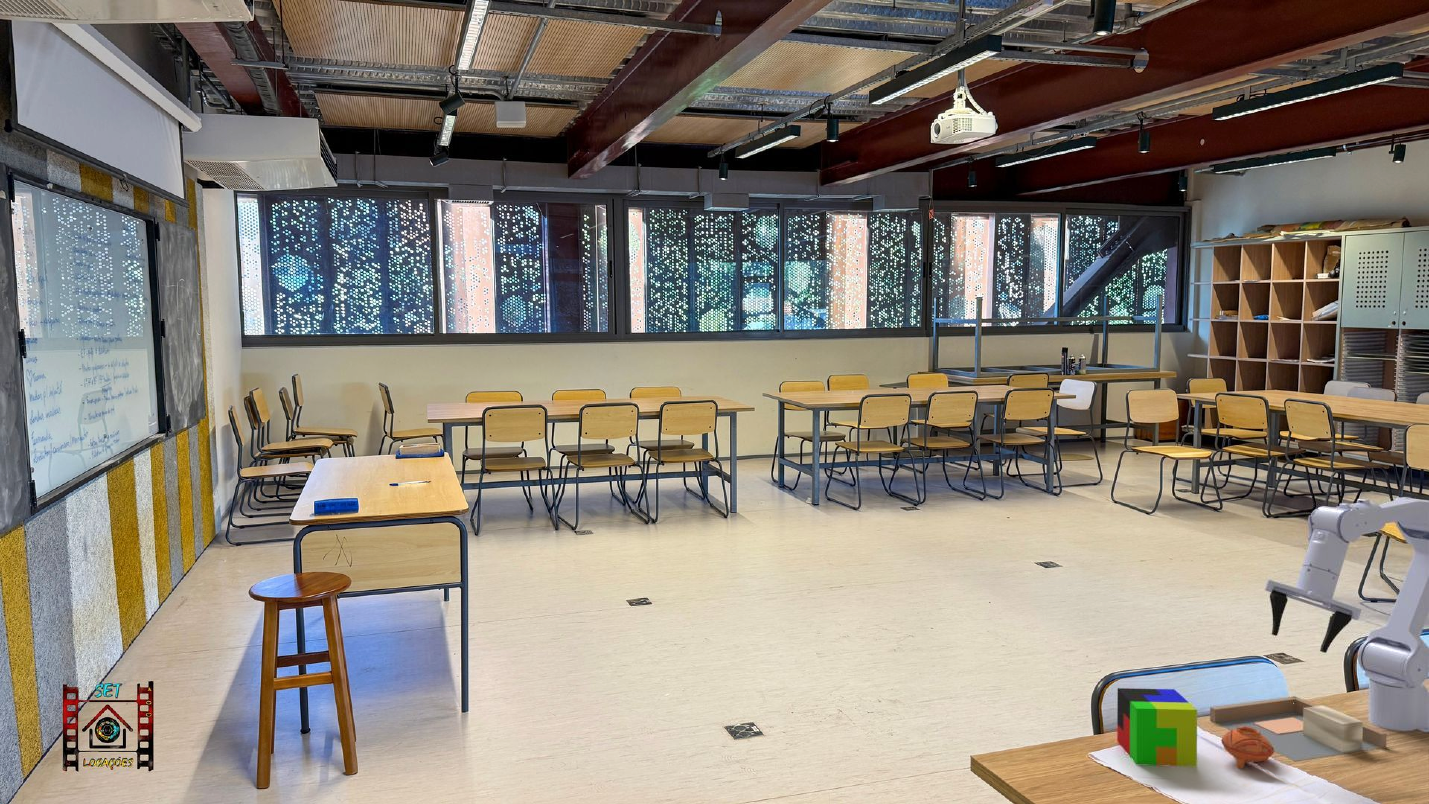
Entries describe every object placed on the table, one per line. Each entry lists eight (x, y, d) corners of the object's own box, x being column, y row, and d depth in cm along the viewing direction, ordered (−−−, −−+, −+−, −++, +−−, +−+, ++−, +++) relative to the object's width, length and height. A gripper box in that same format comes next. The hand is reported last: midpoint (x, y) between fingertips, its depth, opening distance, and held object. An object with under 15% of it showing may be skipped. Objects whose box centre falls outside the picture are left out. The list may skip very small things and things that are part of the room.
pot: (1207, 756, 163) (1214, 718, 163) (1243, 761, 165) (1249, 723, 165) (1244, 774, 155) (1251, 733, 156) (1281, 779, 157) (1288, 739, 158)
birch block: (1322, 732, 171) (1322, 705, 171) (1362, 749, 164) (1362, 721, 163) (1302, 734, 170) (1303, 708, 170) (1342, 752, 163) (1342, 724, 162)
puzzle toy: (1173, 743, 170) (1174, 689, 169) (1196, 766, 160) (1197, 709, 159) (1117, 741, 171) (1117, 688, 170) (1136, 765, 161) (1136, 708, 160)
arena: (1294, 712, 183) (1294, 696, 183) (1386, 751, 164) (1386, 733, 164) (1210, 724, 178) (1210, 707, 178) (1294, 765, 159) (1295, 746, 159)
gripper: (1278, 555, 167) (1255, 627, 165) (1372, 584, 160) (1349, 659, 159) (1273, 558, 173) (1251, 628, 172) (1364, 587, 166) (1342, 659, 165)
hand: (1298, 643), depth 165 cm, fingers open, 7 cm apart
